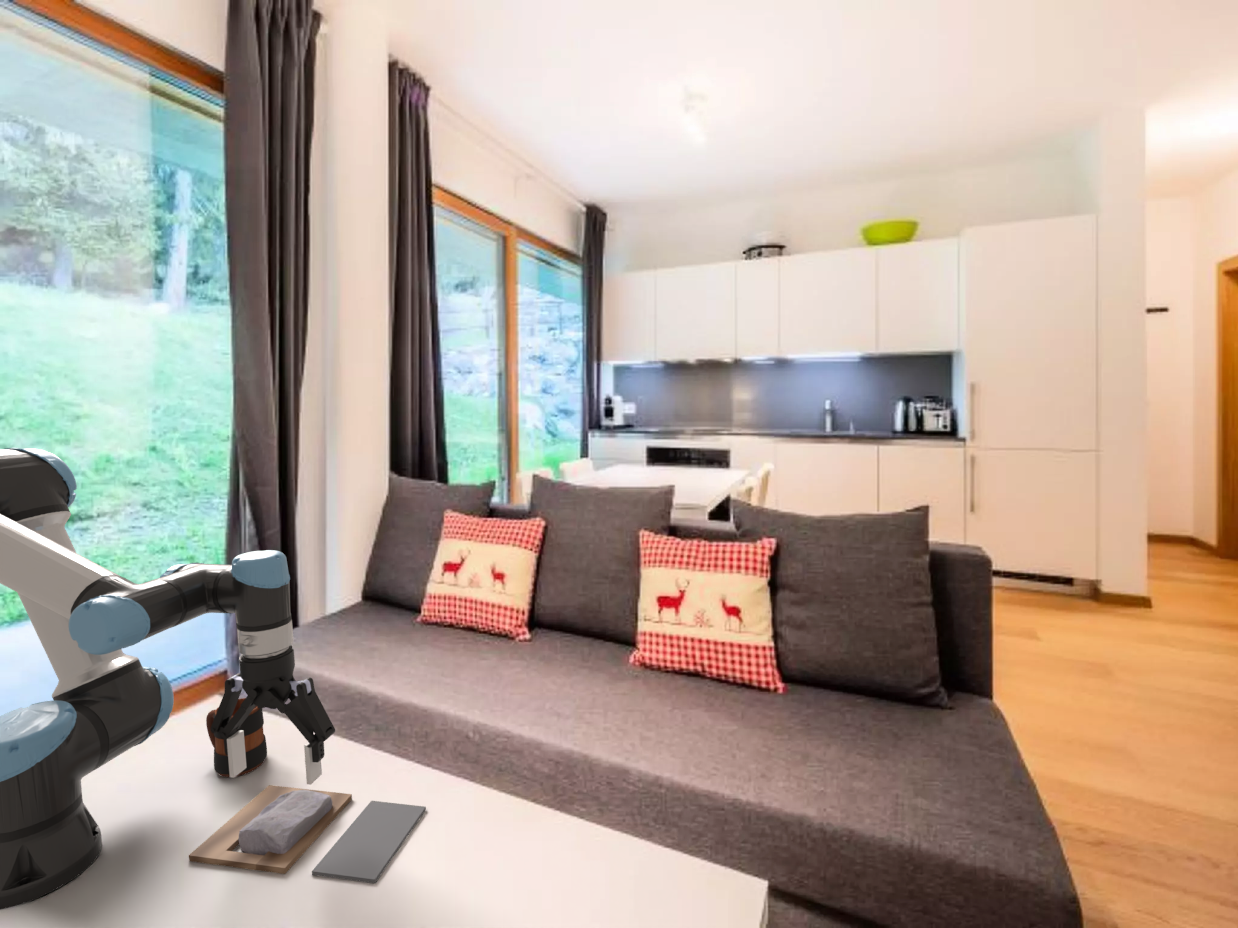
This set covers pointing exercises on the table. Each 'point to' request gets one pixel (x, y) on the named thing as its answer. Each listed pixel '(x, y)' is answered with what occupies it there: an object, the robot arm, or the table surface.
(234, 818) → the pocket board
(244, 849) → the stone block
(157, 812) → the table surface
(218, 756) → the mug
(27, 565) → the robot arm
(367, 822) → the mat
